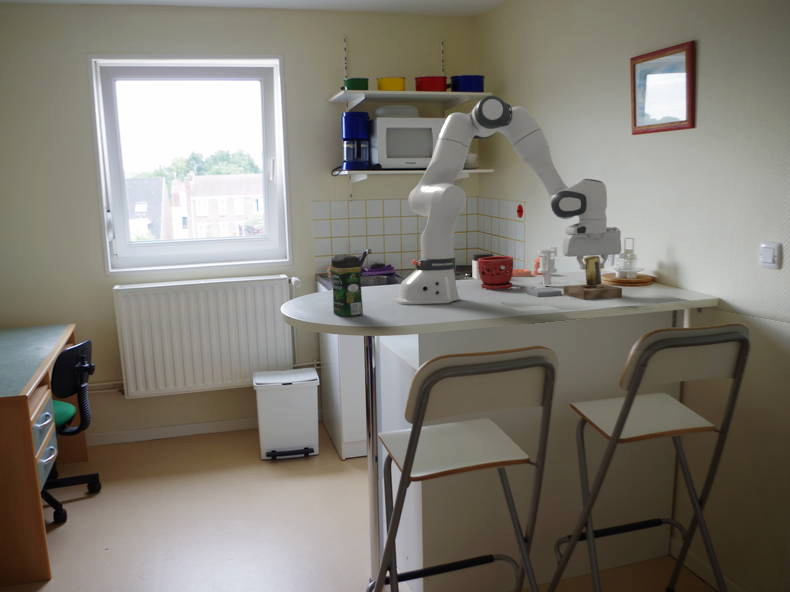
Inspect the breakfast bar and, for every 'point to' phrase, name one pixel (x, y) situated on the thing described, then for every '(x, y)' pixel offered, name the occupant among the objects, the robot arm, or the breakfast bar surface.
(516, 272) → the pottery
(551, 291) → the slate coaster
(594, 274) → the brass peg
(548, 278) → the grey tall piece
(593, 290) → the eye block
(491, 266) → the plant pot
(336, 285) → the coffee jar
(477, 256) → the jar
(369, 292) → the breakfast bar surface
